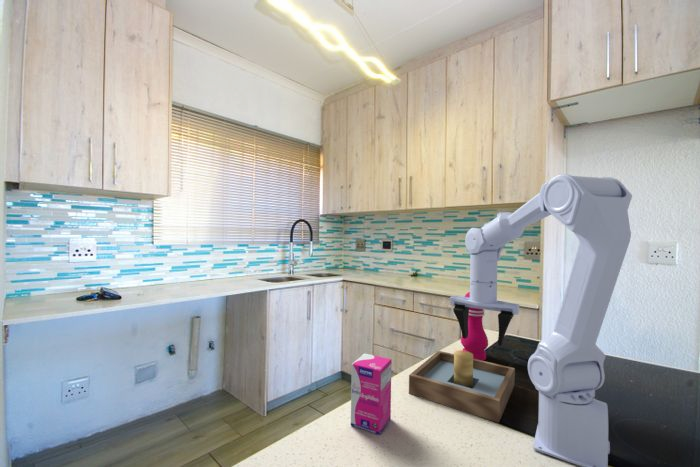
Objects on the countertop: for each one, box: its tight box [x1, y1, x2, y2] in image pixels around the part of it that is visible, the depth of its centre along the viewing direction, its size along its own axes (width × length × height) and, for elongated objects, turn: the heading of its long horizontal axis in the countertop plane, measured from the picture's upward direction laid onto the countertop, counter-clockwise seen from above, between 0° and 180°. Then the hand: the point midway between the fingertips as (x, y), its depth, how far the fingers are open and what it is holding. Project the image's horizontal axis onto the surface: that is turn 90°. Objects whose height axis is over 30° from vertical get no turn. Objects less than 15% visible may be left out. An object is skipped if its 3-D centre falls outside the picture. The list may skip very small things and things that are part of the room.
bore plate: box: [423, 361, 505, 397], centre depth 72 cm, size 16×16×2 cm
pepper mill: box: [460, 291, 489, 361], centre depth 91 cm, size 7×7×20 cm
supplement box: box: [350, 353, 393, 435], centre depth 59 cm, size 6×6×12 cm
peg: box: [453, 350, 474, 389], centre depth 72 cm, size 4×4×8 cm
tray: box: [408, 350, 516, 423], centre depth 72 cm, size 18×18×4 cm
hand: (482, 340), depth 74 cm, fingers open, 7 cm apart
